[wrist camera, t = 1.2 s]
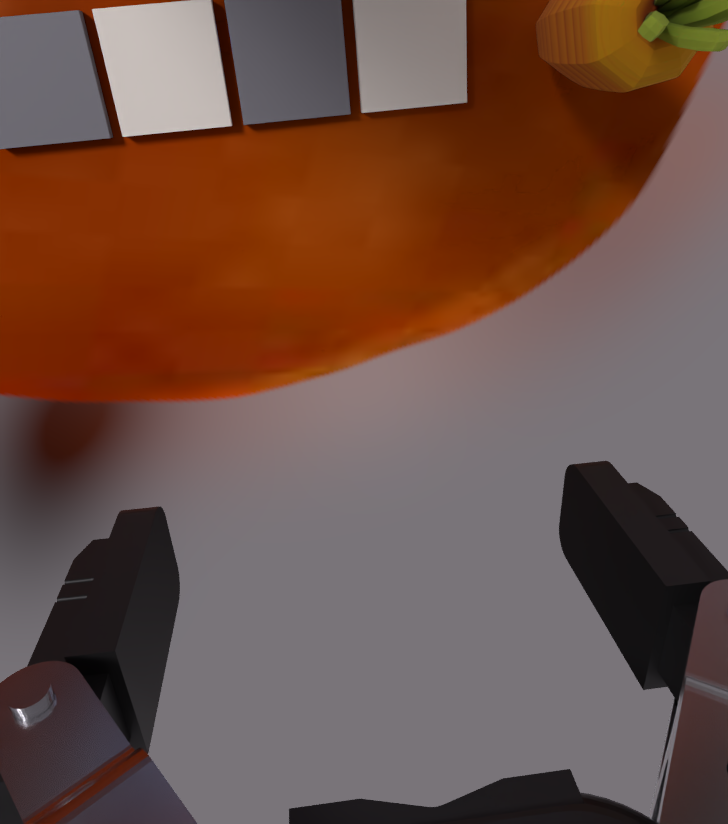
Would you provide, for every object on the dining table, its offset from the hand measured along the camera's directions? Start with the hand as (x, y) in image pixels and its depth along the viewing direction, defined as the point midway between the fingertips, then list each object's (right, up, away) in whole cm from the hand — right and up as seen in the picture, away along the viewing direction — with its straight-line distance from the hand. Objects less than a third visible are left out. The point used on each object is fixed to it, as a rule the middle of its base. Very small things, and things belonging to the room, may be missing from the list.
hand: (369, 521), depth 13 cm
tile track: (-7, +19, +19) cm, 28 cm away
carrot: (+9, +21, +20) cm, 30 cm away
